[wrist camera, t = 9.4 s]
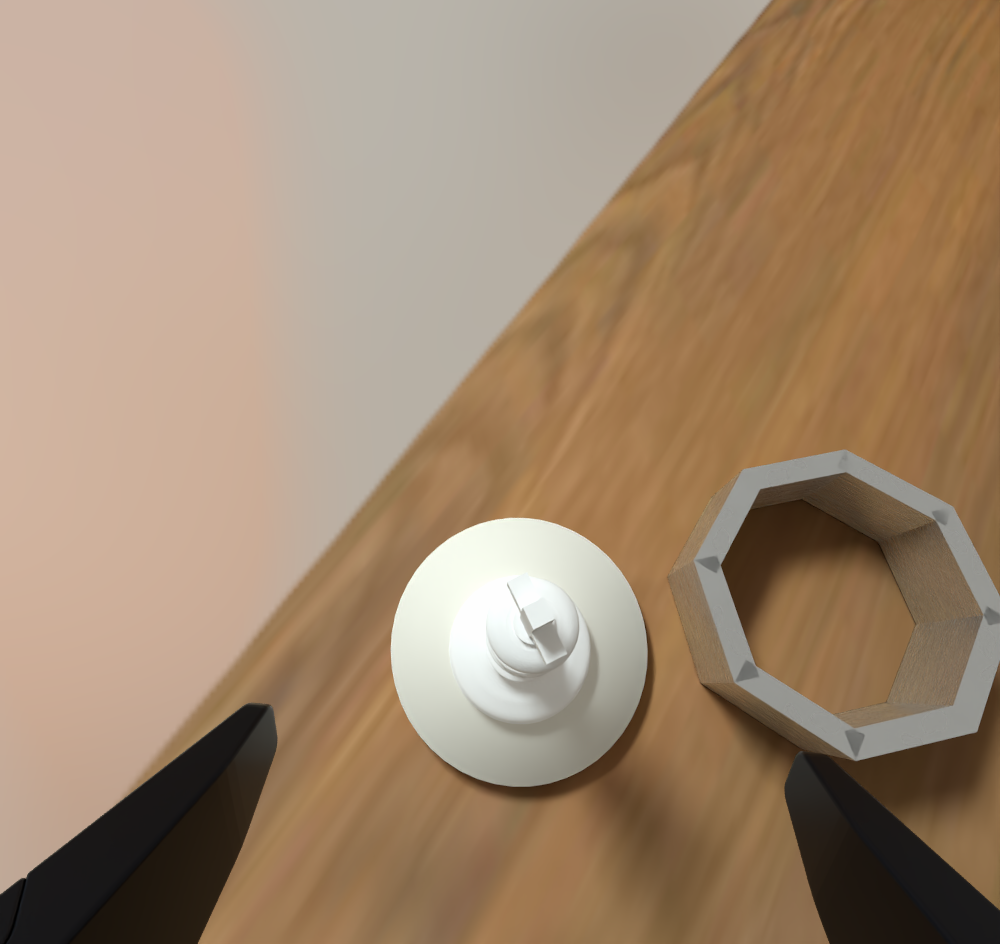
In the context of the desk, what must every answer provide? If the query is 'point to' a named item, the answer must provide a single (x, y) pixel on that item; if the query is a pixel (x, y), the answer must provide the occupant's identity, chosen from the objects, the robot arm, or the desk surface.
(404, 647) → the felt pad
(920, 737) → the ring collar
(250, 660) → the desk surface
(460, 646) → the chess piece
